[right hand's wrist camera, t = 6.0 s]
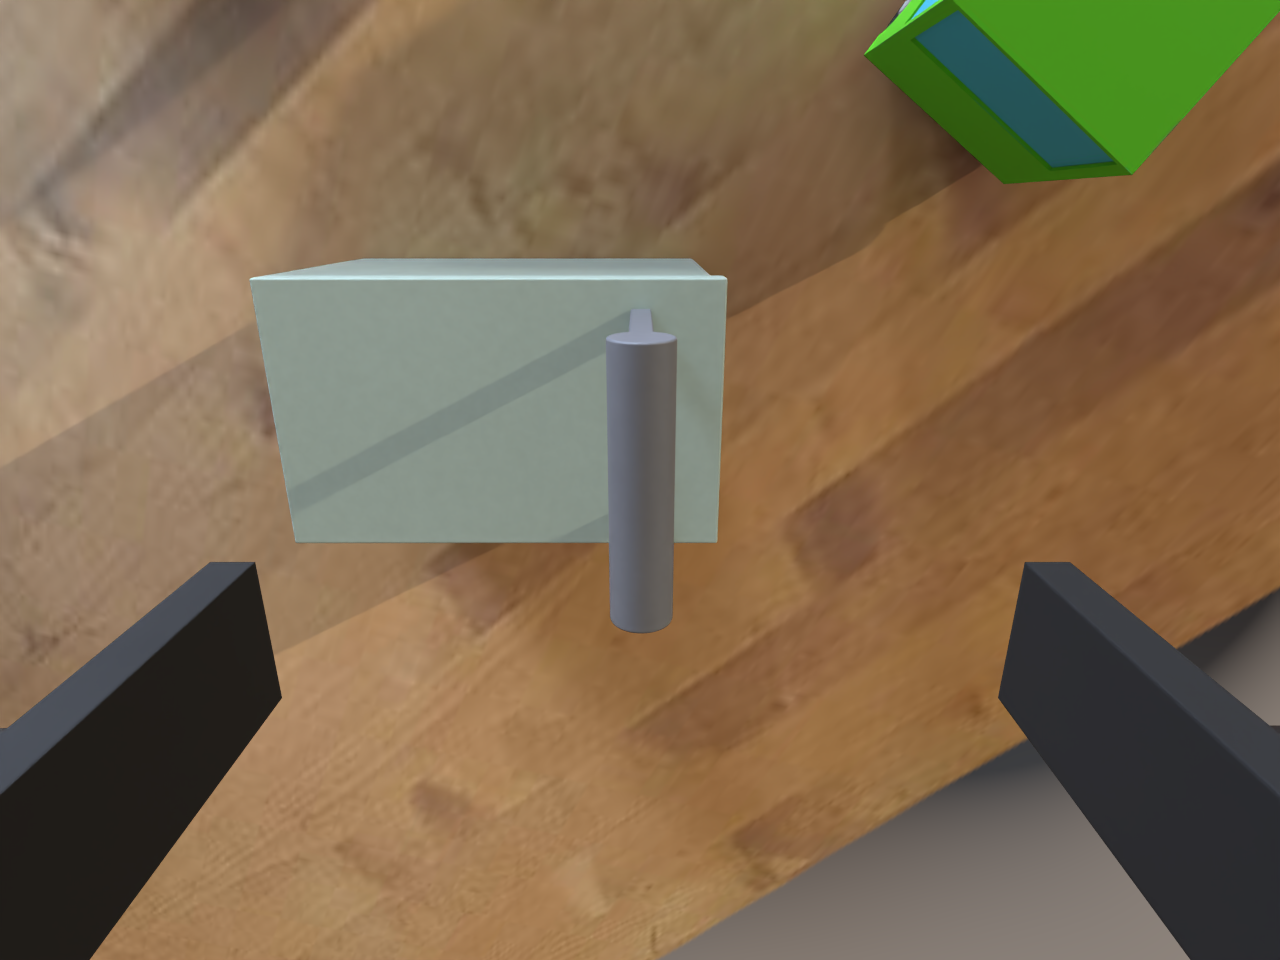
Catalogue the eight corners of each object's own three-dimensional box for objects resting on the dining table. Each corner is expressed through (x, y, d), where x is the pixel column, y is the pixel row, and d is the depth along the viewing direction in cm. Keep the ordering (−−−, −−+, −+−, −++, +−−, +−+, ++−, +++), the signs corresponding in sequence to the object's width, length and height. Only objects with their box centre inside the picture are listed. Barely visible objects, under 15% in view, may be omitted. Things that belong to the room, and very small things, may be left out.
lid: (724, 275, 25) (765, 306, 17) (714, 531, 28) (744, 660, 20) (263, 275, 25) (84, 306, 17) (307, 532, 28) (174, 661, 20)
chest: (692, 258, 34) (711, 275, 25) (687, 455, 37) (702, 531, 29) (361, 258, 34) (264, 275, 25) (386, 455, 37) (307, 531, 29)
